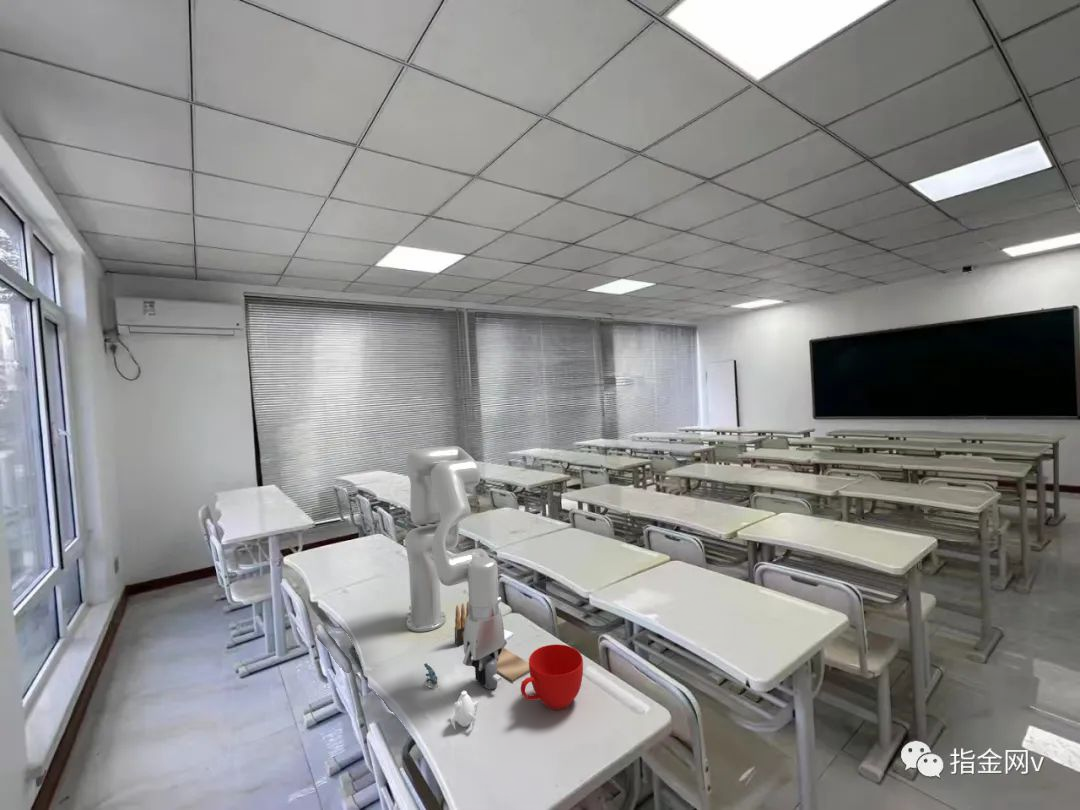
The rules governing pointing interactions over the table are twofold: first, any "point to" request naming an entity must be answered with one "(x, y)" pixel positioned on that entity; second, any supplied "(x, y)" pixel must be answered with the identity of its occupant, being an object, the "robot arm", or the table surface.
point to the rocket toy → (464, 711)
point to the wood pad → (511, 666)
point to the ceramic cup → (554, 675)
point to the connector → (490, 672)
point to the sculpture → (431, 677)
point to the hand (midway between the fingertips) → (486, 678)
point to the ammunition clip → (460, 624)
